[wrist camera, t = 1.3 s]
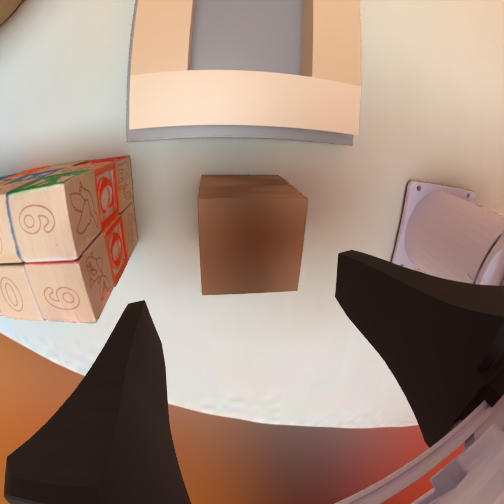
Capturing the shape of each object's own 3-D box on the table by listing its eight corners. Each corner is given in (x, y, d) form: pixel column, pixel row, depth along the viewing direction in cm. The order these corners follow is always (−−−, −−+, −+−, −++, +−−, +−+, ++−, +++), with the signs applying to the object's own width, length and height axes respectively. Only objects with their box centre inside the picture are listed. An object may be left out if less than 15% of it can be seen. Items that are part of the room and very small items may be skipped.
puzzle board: (346, -24, 12) (365, -40, 9) (344, 144, 18) (367, 149, 15) (148, -39, 10) (139, -60, 7) (131, 140, 16) (116, 144, 13)
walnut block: (278, 175, 18) (308, 198, 13) (274, 244, 20) (297, 290, 15) (201, 175, 18) (197, 198, 12) (203, 246, 20) (202, 295, 14)
